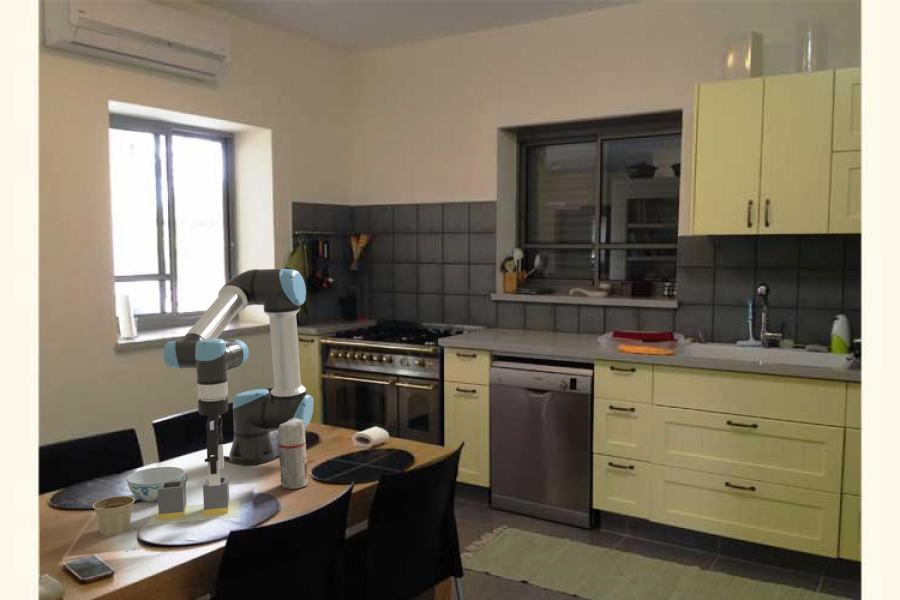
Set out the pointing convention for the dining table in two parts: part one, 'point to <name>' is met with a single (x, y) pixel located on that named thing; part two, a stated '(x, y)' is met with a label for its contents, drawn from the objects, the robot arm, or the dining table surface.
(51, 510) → the dining table surface
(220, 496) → the sleeve
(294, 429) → the spray can
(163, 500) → the sleeve seated
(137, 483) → the chinaware
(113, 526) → the flower pot
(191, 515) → the pin board
